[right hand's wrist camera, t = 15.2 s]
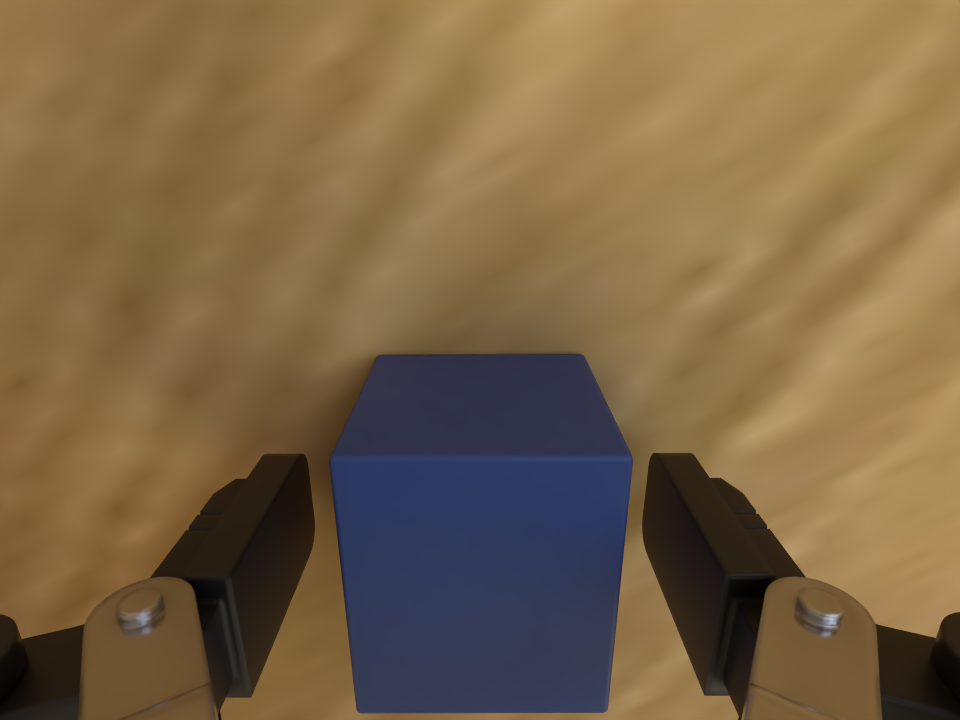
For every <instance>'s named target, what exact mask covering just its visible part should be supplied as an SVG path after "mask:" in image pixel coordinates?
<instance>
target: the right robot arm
mask: <svg viewBox="0 0 960 720" xmlns="http://www.w3.org/2000/svg"><path fill="white" fill-rule="evenodd" d="M642 531H643V540H644V545H645V549H646V552H647V555H648V557H649V560H650V562H651V565H652V567H653V570H654V572H655V575H656V577H657V580H658V582H659V585H660V587H661V589H662V592H663V594H664V597H665V599H666V602H667V604H668V607H669V609H670V612H671V614H672V617H673V619H674V622H675V624H676V626H677V629H678V631H679V634H680V636H681V639H682V641H683V644H684V646H685V649H686V651H687V654H688V656H689V658H690V661H691V663H692V666H693V668H694V671H695V673H696V676H697V678H698V681H699V683H700V686H701V688H702V691H703V693H704V695H705V696H730V697H731V700H732V702H733V704H734V706H735V709H736V711H737V713H738V715H739V718H738V720H960V612H958V613H953V614H950V615H948V616H947V617H945V618H944V619H943V621H942V622H941V625H940V628H939V631H938V634H937V636H936V638H933V637H929V636H924V635H920V634H916V633H911V632H907V631H902V630H898V629H894V628H889V627H885V626H881V625H877V624H875V622H874V620H873V618H872V616H871V615H870V614H869V612H868V611H867V610H866V609H865V608H864V606H863V605H862V604H860V603H859V602H858V601H857V600H856V599H855V598H853V597H852V596H850V595H849V594H847V593H846V592H844V591H842V590H840V589H839V588H836V587H834V586H832V585H830V584H827V583H824V582H822V581H818V580H815V579H810V578H806V577H805V576H804V574H803V573H802V572H801V570H800V569H799V568H798V566H797V565H796V564H795V562H794V561H793V560H792V558H791V557H790V556H789V554H788V553H787V552H786V550H785V549H784V548H783V546H782V545H781V544H780V542H779V541H778V540H777V538H776V537H775V536H774V534H773V533H772V532H771V530H770V529H767V525H766V523H765V522H764V521H763V519H762V518H761V517H760V515H759V514H756V510H755V509H754V507H753V506H752V505H751V503H750V502H749V501H748V499H747V498H746V497H745V495H744V494H743V493H742V492H740V491H739V490H738V489H736V488H735V487H733V486H732V485H730V484H729V483H727V482H726V481H724V480H723V479H721V478H709V476H708V475H707V473H706V472H705V470H704V469H703V467H702V466H701V465H700V463H699V462H698V460H697V459H696V457H695V456H694V455H693V454H692V453H653V454H652V456H651V458H650V461H649V467H648V476H647V485H646V493H645V502H644V511H643V520H642ZM314 533H315V520H314V511H313V502H312V494H311V486H310V477H309V469H308V462H307V459H306V457H305V455H304V454H265V455H263V456H262V458H261V459H260V460H259V462H258V463H257V465H256V466H255V468H254V469H253V471H252V472H251V473H250V475H249V476H248V478H247V479H235V480H233V481H232V482H231V483H229V484H228V485H226V486H225V487H223V488H222V489H220V490H219V491H217V492H216V493H214V494H213V496H212V497H211V498H210V500H209V501H208V502H207V503H206V505H205V506H204V507H203V509H202V510H201V511H200V515H197V517H196V518H195V519H194V521H193V522H192V523H191V525H190V526H189V530H186V531H185V533H184V534H183V535H182V537H181V538H180V539H179V540H178V542H177V543H176V544H175V546H174V547H173V548H172V550H171V551H170V552H169V554H168V555H167V556H166V558H165V559H164V560H163V562H162V563H161V564H160V566H159V567H158V568H157V570H156V571H155V572H154V574H153V575H152V576H151V577H150V579H145V580H142V581H138V582H136V583H133V584H130V585H128V586H126V587H124V588H121V589H120V590H118V591H116V592H114V593H113V594H111V595H110V596H108V597H107V598H105V599H104V600H103V601H102V602H101V603H100V604H98V605H97V606H96V608H95V609H94V610H93V611H92V612H91V614H90V615H89V616H88V618H87V620H86V622H85V624H84V625H80V626H77V627H73V628H69V629H64V630H60V631H56V632H51V633H47V634H43V635H38V636H34V637H29V638H25V639H21V636H20V633H19V631H18V628H17V625H16V623H15V622H14V620H13V619H11V618H10V617H8V616H5V615H0V720H222V718H221V713H220V709H221V707H222V705H223V703H224V700H225V698H226V697H252V694H253V692H254V689H255V687H256V685H257V682H258V680H259V677H260V675H261V672H262V670H263V668H264V665H265V663H266V660H267V658H268V655H269V653H270V651H271V648H272V646H273V643H274V641H275V638H276V636H277V634H278V631H279V629H280V626H281V624H282V621H283V619H284V617H285V614H286V612H287V609H288V607H289V604H290V602H291V600H292V597H293V595H294V592H295V590H296V587H297V585H298V583H299V580H300V578H301V575H302V573H303V570H304V568H305V566H306V563H307V561H308V558H309V556H310V553H311V550H312V547H313V542H314Z"/></svg>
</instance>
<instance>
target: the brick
mask: <svg viewBox="0 0 960 720" xmlns="http://www.w3.org/2000/svg"><path fill="white" fill-rule="evenodd" d="M329 464H330V473H331V482H332V491H333V500H334V509H335V518H336V527H337V536H338V546H339V555H340V564H341V573H342V582H343V591H344V600H345V609H346V618H347V627H348V636H349V645H350V654H351V663H352V673H353V682H354V691H355V700H356V708H357V711H358V712H359V713H603V712H606V711H607V709H608V702H609V692H610V682H611V672H612V662H613V652H614V642H615V632H616V622H617V613H618V603H619V593H620V583H621V573H622V563H623V553H624V543H625V533H626V523H627V513H628V503H629V493H630V483H631V473H632V464H633V458H632V455H631V453H630V451H629V449H628V447H627V444H626V442H625V440H624V438H623V436H622V434H621V432H620V430H619V428H618V426H617V424H616V422H615V419H614V417H613V415H612V413H611V411H610V409H609V407H608V405H607V403H606V401H605V399H604V396H603V394H602V392H601V390H600V388H599V386H598V384H597V382H596V380H595V378H594V376H593V373H592V371H591V369H590V367H589V365H588V363H587V361H586V359H585V357H584V355H581V354H535V355H380V356H378V357H377V359H376V361H375V363H374V365H373V367H372V369H371V371H370V373H369V376H368V378H367V380H366V382H365V384H364V386H363V388H362V390H361V393H360V395H359V397H358V399H357V401H356V403H355V405H354V407H353V410H352V412H351V414H350V416H349V418H348V420H347V422H346V424H345V426H344V429H343V431H342V433H341V435H340V437H339V439H338V441H337V443H336V446H335V448H334V450H333V452H332V454H331V456H330V459H329Z"/></svg>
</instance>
